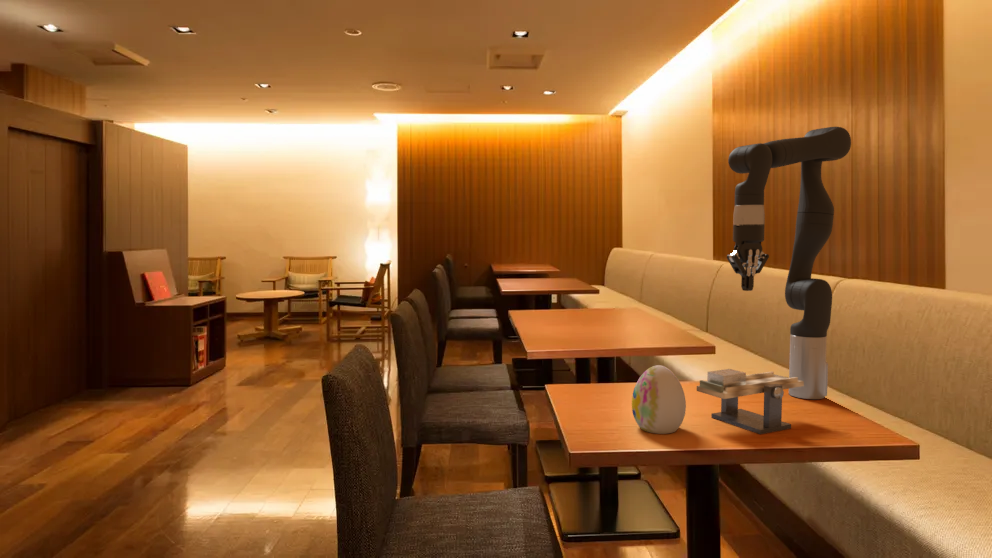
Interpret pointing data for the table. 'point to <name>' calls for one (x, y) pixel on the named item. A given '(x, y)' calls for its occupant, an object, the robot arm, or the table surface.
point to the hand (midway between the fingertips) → (747, 290)
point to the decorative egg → (658, 401)
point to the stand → (753, 420)
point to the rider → (727, 378)
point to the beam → (749, 385)
